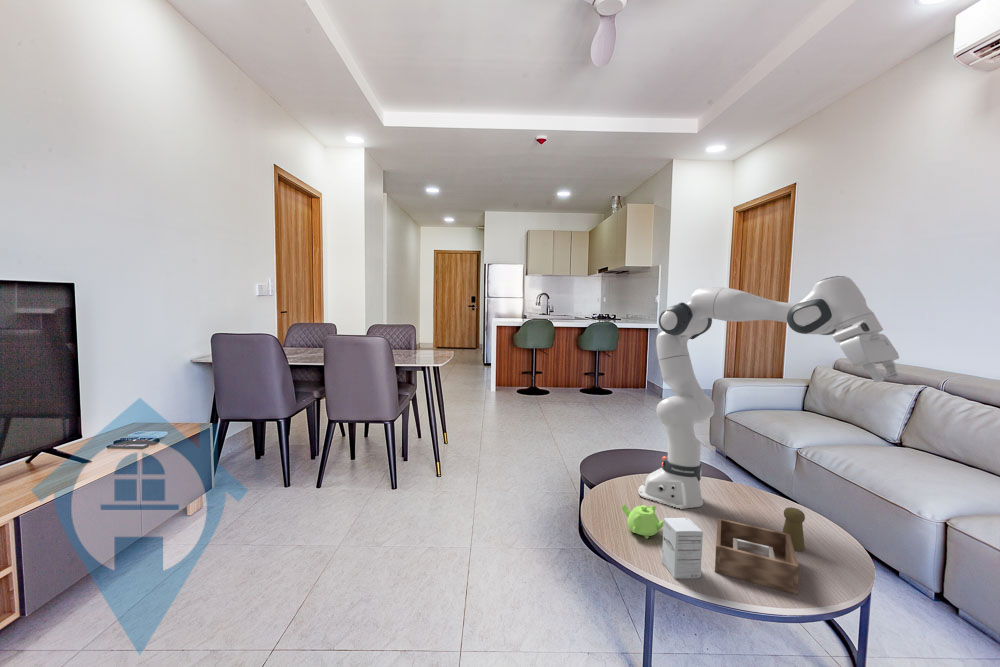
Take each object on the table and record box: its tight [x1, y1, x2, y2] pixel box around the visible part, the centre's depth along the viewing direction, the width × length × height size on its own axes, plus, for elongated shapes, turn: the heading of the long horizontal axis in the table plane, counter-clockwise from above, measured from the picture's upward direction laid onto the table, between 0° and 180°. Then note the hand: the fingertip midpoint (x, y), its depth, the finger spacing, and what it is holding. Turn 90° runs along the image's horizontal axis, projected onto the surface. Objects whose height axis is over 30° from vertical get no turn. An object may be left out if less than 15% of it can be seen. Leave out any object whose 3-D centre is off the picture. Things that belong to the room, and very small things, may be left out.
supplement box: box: [661, 517, 704, 579], centre depth 111 cm, size 7×7×13 cm
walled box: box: [714, 517, 800, 595], centre depth 115 cm, size 18×18×7 cm
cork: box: [782, 506, 806, 552], centre depth 125 cm, size 6×6×11 cm
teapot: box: [620, 504, 664, 539], centre depth 131 cm, size 11×12×8 cm
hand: (887, 379), depth 107 cm, fingers open, 8 cm apart
